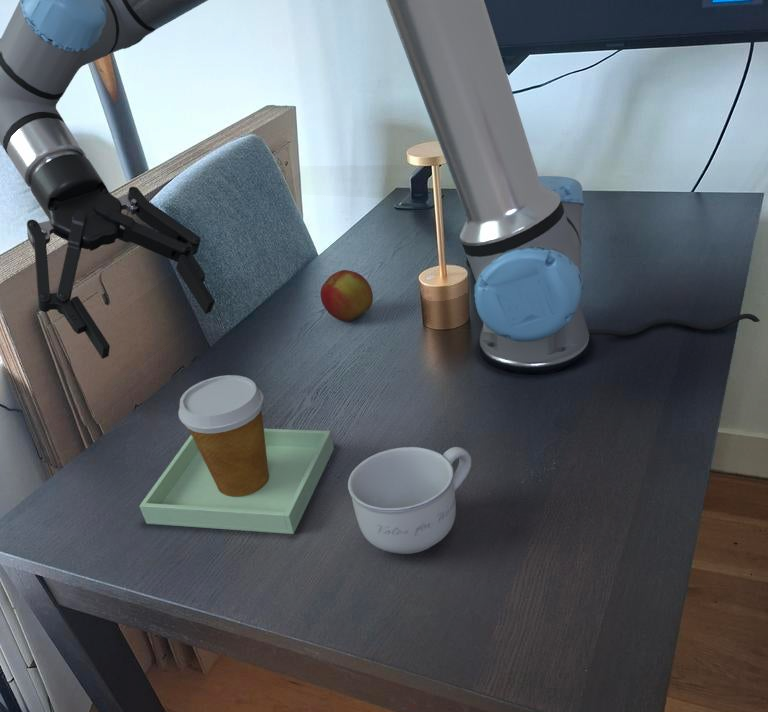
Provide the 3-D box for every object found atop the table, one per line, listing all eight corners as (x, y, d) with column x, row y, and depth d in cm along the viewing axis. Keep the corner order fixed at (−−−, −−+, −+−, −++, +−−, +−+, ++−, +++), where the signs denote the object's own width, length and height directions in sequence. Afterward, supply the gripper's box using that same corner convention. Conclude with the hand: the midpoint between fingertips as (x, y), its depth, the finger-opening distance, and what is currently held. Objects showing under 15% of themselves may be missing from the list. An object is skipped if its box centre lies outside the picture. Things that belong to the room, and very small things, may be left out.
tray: (334, 448, 95) (330, 430, 93) (293, 534, 83) (288, 515, 82) (202, 443, 100) (196, 426, 98) (146, 523, 88) (138, 505, 86)
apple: (339, 307, 127) (331, 260, 122) (382, 311, 124) (376, 263, 119) (317, 327, 122) (308, 279, 117) (362, 332, 119) (355, 283, 114)
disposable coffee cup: (272, 449, 96) (250, 365, 88) (290, 490, 89) (269, 403, 81) (198, 471, 94) (169, 387, 86) (211, 515, 87) (181, 427, 79)
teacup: (381, 582, 76) (371, 522, 71) (343, 522, 84) (331, 463, 79) (503, 535, 79) (502, 474, 74) (455, 481, 87) (451, 422, 82)
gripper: (151, 164, 96) (242, 305, 96) (-46, 227, 85) (58, 386, 85) (158, 123, 89) (256, 274, 90) (-55, 185, 78) (58, 358, 78)
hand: (160, 329), depth 87 cm, fingers open, 13 cm apart
